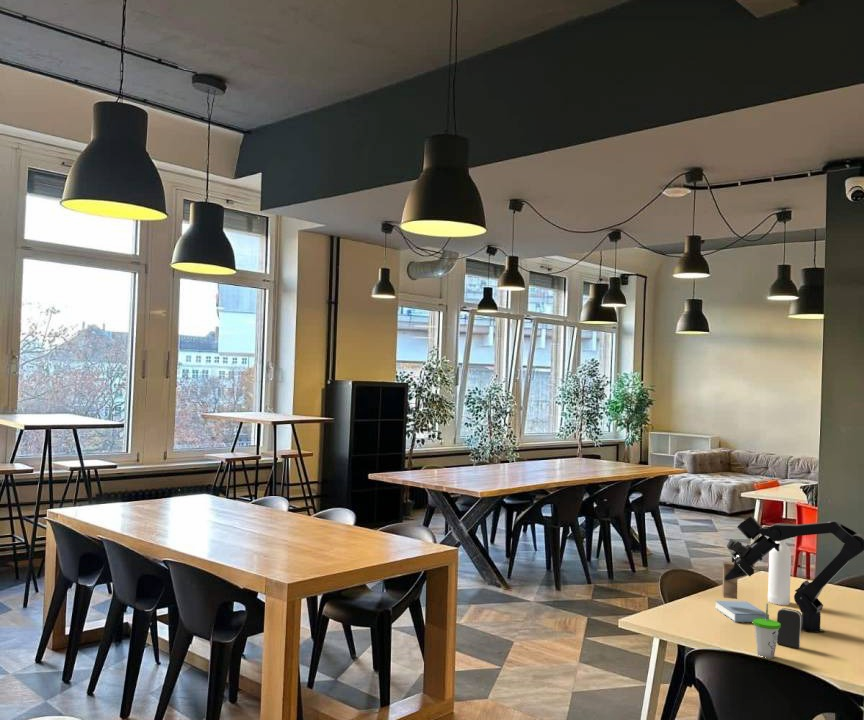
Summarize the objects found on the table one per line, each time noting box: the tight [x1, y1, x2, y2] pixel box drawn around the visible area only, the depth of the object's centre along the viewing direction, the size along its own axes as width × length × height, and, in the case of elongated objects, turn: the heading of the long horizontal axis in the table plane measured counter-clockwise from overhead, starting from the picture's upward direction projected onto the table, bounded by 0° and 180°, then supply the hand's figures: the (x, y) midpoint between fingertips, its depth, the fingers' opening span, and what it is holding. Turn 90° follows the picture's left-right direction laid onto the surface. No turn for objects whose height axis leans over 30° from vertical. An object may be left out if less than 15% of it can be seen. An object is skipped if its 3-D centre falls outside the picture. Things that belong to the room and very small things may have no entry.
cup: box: [752, 603, 781, 660], centre depth 236 cm, size 8×8×15 cm
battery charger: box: [776, 607, 802, 649], centre depth 248 cm, size 7×4×11 cm, turn 52°
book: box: [715, 600, 770, 623], centre depth 279 cm, size 17×12×3 cm
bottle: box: [767, 539, 792, 606], centre depth 301 cm, size 8×8×30 cm
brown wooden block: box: [722, 561, 738, 600], centre depth 280 cm, size 4×4×12 cm
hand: (724, 577), depth 280 cm, fingers closed on brown wooden block, 4 cm apart
